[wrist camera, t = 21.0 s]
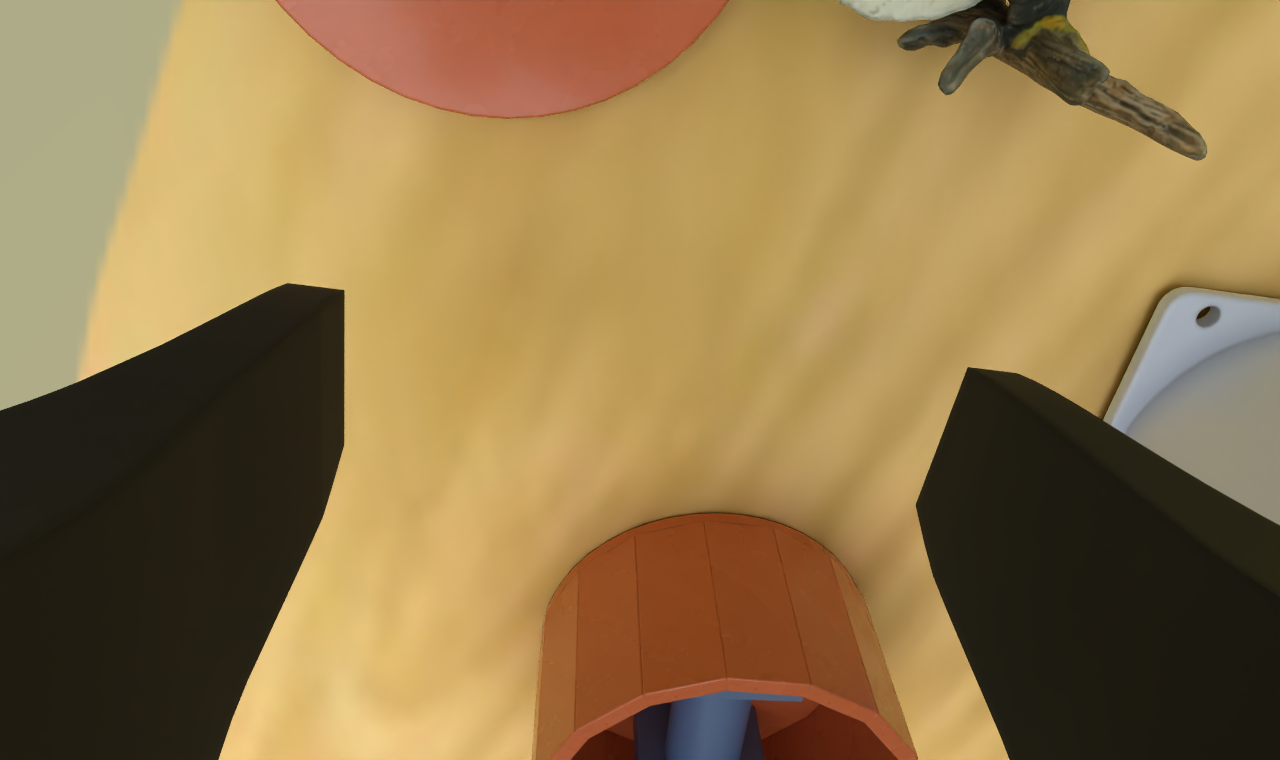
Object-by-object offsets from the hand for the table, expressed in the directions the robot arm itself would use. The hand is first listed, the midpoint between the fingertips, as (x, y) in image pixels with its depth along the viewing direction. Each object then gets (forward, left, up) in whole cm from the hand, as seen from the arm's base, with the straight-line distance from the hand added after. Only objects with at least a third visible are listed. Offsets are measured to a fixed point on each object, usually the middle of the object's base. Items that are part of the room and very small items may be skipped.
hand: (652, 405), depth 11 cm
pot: (-4, +13, -9) cm, 17 cm away
